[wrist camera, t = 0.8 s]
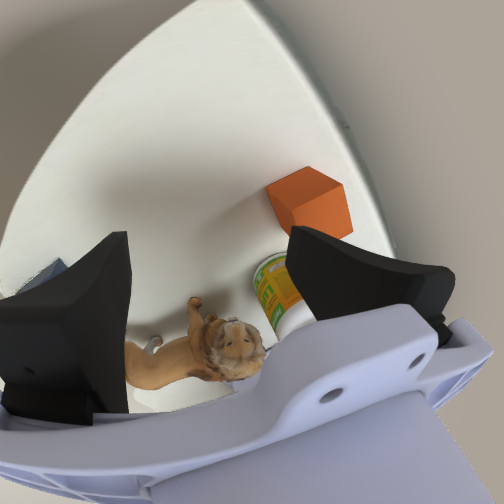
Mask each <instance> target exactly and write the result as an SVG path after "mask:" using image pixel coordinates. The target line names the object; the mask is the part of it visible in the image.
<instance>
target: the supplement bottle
mask: <svg viewBox="0 0 504 504" xmlns="http://www.w3.org/2000/svg"><path fill="white" fill-rule="evenodd" d="M286 254H287V253H279V254H276V255H273V256H271V257H269V258H268V259H266V260H265V261H264V262H263V263H262V264H261V265H260V266H259V267H258V268H257V270H256V272H255V274H254V277H253V288H254V291H255V293H256V295H257V297H258V300H259V302H260V304H261V306H262V308H263V310H264V312H265V314H266V316H267V318H268V320H269V322H270V324H271V326H272V328H273V330H274V332H275V334H276V336H277V338H278V340H279V341H280V340H282V339H283V338H284V337H286V336H287V335H288V334H290V333H291V332H292V331H293V330H295V329H298V328H301V327H303V326H306V325H309V324H311V323H314V322H317V320H316V319H315V317H314V315H313V313H312V312H311V310H310V309H309V307H308V306H307V304H306V303H305V301H304V299H303V298H302V296H301V295H300V293H299V292H298V290H297V289H296V287H295V285H294V284H293V282H292V280H291V278H290V276H289V274H288V271H287V269H286V267H285V259H286Z"/></svg>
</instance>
